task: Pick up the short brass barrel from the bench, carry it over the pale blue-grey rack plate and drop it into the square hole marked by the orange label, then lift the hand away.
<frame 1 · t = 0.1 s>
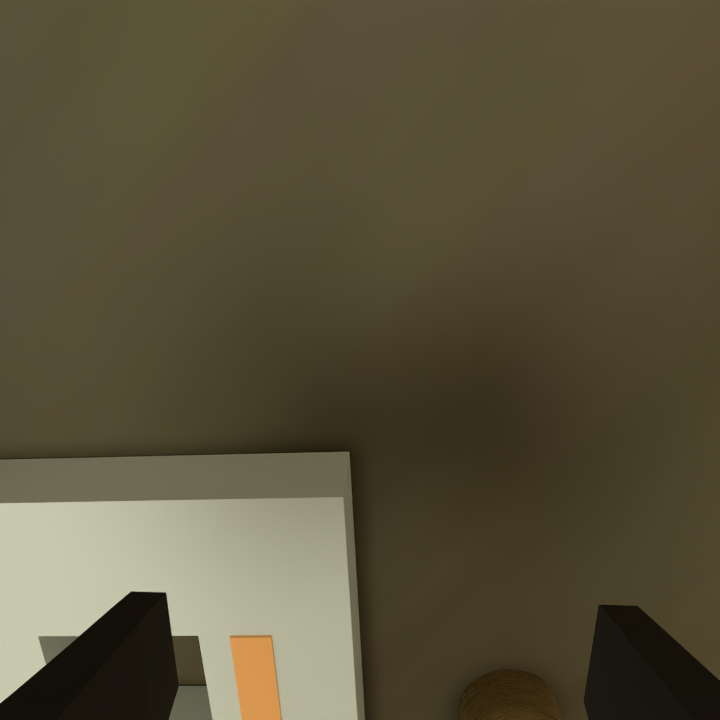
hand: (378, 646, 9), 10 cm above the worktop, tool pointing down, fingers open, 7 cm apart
brass barrel: (507, 707, 22), on the worktop
rack plate: (164, 632, 22), on the worktop
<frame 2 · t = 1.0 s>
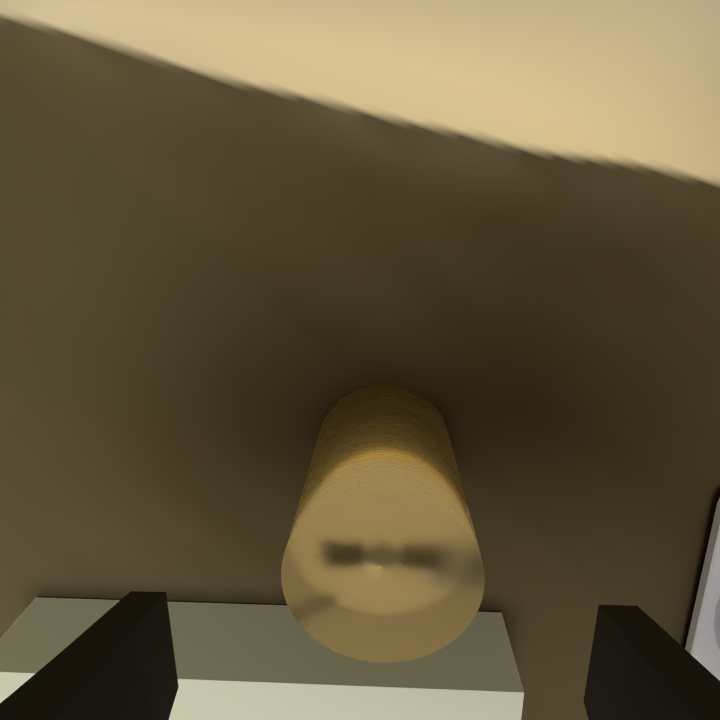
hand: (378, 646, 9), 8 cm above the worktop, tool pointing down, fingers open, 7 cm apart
brass barrel: (383, 446, 16), on the worktop
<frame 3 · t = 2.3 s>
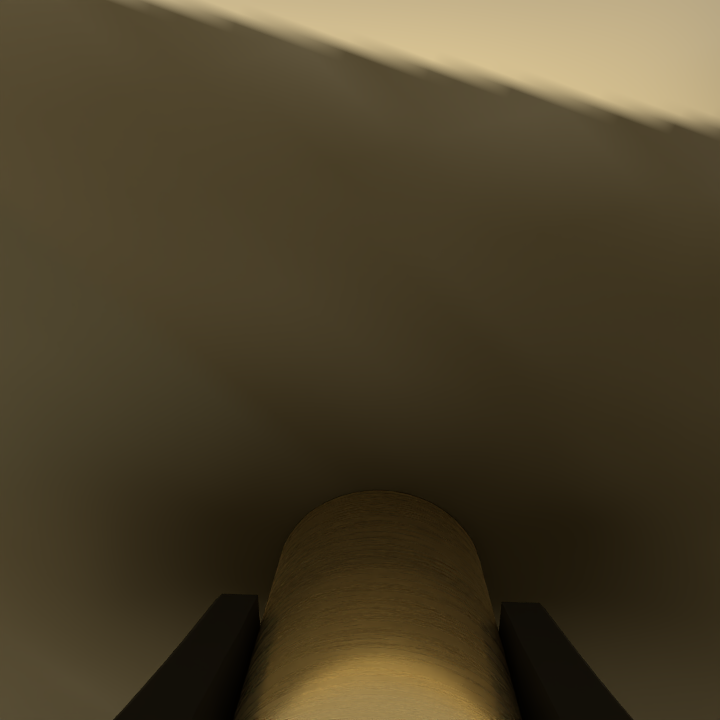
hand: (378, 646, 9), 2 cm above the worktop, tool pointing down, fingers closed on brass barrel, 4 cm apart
brass barrel: (379, 579, 10), on the worktop, touching gripper
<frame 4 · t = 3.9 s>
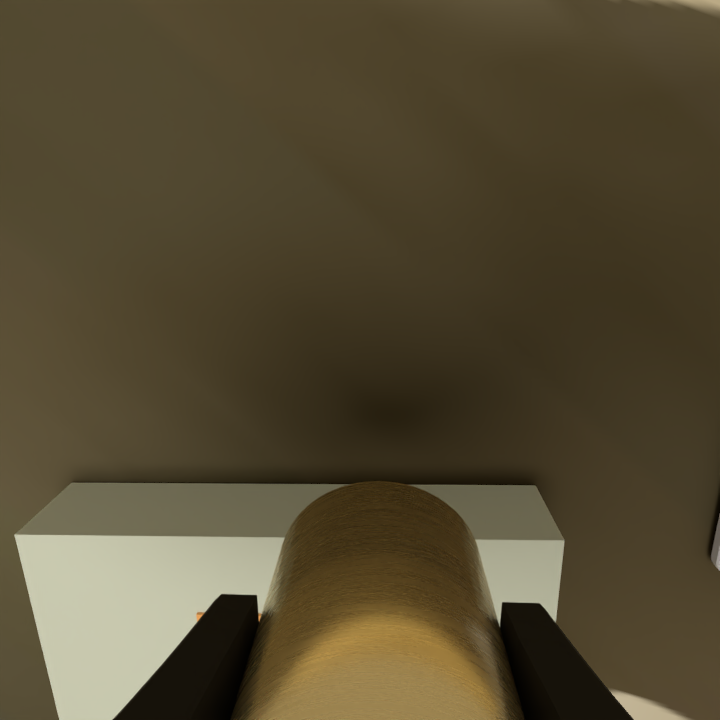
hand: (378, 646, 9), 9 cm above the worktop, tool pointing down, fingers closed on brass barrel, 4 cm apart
brass barrel: (379, 570, 11), point 7 cm above the worktop, touching gripper
rack plate: (309, 667, 20), on the worktop
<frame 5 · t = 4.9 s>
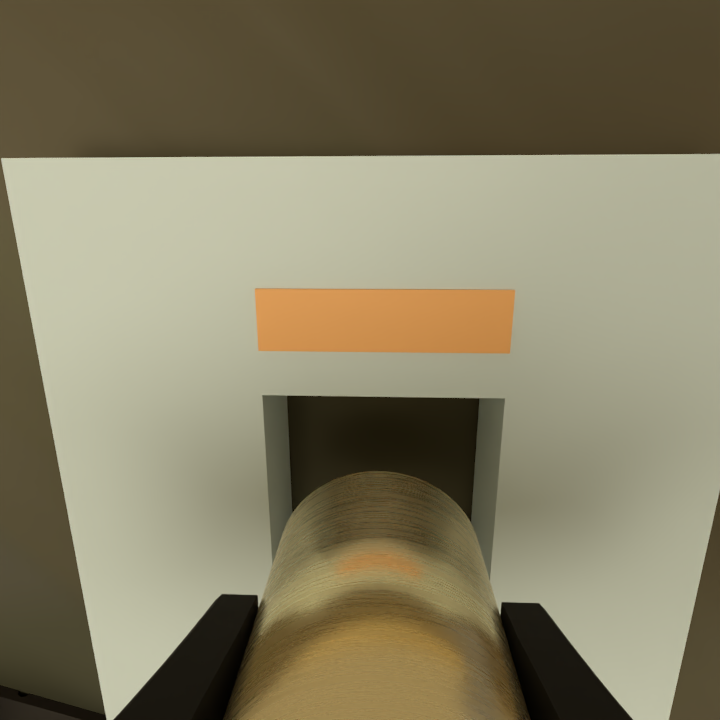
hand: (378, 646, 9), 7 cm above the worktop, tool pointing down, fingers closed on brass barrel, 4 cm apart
brass barrel: (378, 562, 11), point 6 cm above the worktop, touching gripper
rack plate: (381, 448, 16), on the worktop
when the fingers open (4 cm above the worktop, at t = 5.8 s): brass barrel drops 2 cm, resting in rack plate.
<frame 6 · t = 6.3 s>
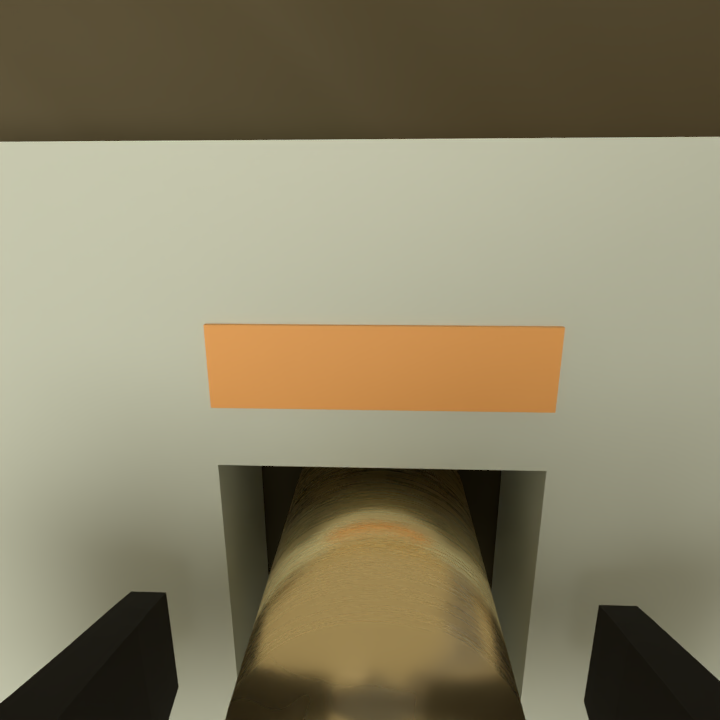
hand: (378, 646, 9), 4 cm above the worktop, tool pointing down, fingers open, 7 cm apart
brass barrel: (379, 500, 13), resting in rack plate
rack plate: (379, 511, 13), on the worktop
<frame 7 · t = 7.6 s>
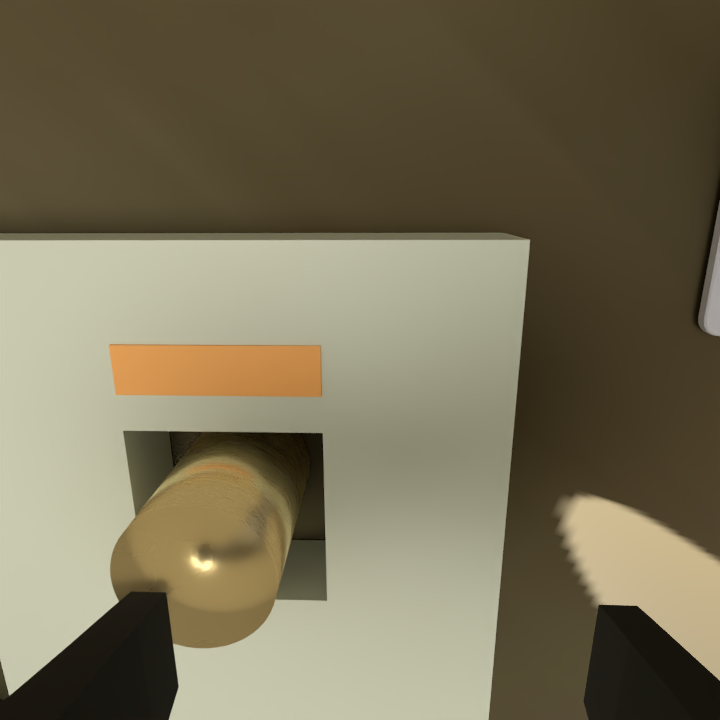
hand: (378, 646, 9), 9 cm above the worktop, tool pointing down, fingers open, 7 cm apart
brass barrel: (252, 462, 18), resting in rack plate
rack plate: (253, 469, 18), on the worktop
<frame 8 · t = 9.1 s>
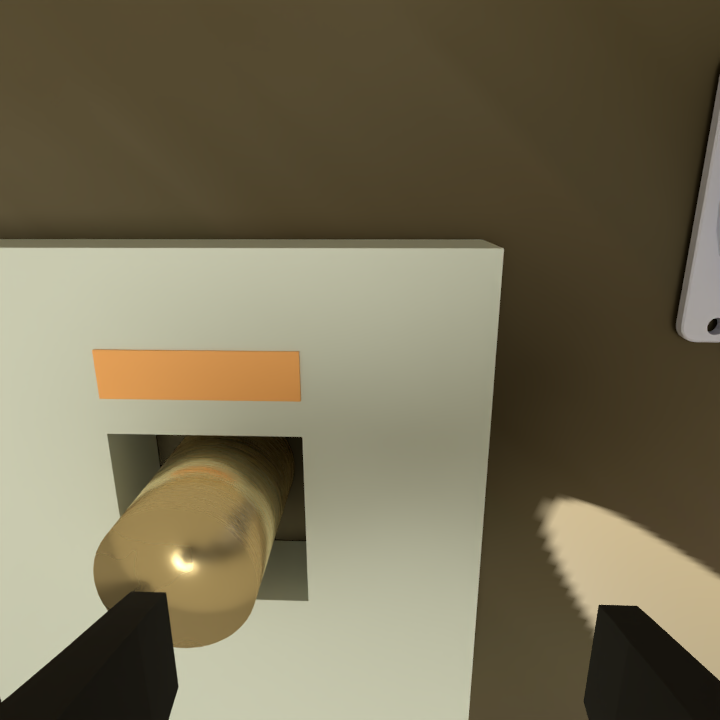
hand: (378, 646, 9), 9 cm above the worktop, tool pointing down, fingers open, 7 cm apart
brass barrel: (237, 464, 19), resting in rack plate
rack plate: (238, 471, 19), on the worktop
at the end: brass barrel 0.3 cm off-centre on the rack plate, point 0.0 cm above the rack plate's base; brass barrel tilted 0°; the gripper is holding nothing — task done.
